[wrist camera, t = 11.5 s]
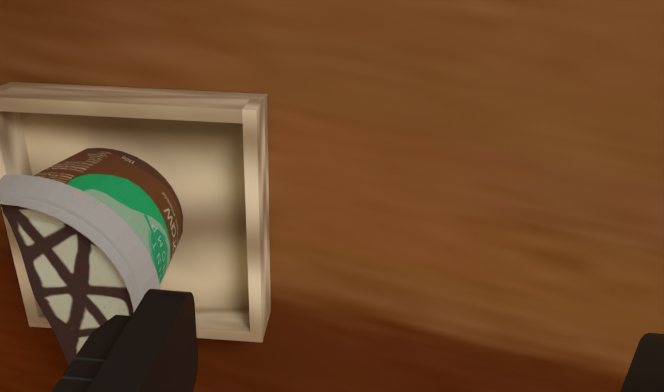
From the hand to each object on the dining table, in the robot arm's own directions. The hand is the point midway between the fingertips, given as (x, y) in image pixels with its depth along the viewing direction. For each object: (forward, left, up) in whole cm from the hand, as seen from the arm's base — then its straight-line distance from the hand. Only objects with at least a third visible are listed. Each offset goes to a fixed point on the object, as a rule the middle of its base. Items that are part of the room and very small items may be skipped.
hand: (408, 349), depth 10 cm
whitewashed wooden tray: (+10, -15, -25) cm, 31 cm away
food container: (+10, -14, -25) cm, 30 cm away
